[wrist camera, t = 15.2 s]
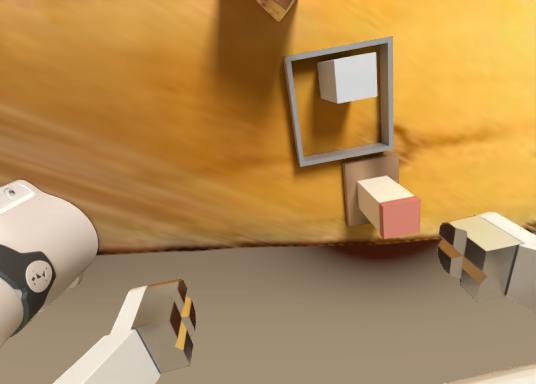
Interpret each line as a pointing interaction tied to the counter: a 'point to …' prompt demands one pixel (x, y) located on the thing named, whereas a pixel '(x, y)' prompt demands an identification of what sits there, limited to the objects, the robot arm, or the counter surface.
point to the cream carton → (389, 207)
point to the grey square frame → (385, 100)
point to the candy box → (276, 7)
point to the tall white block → (348, 78)
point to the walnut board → (363, 171)
